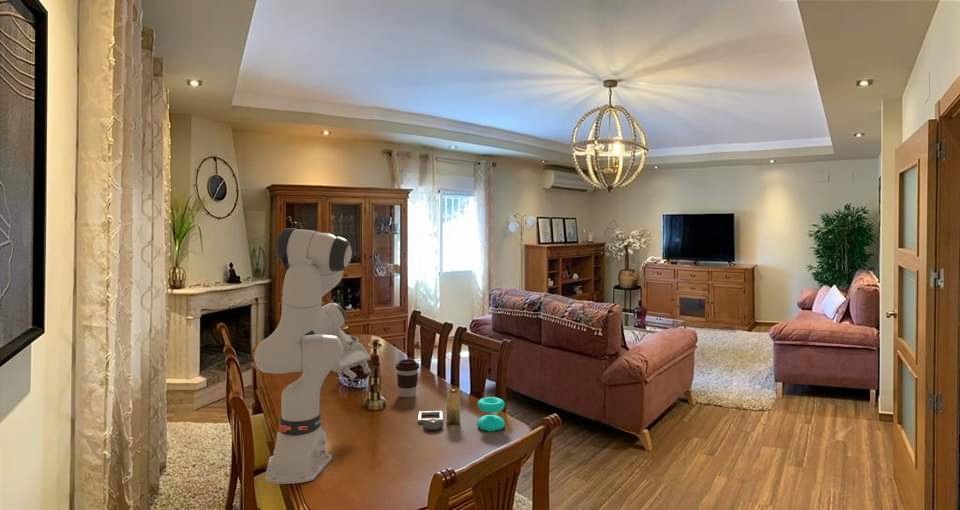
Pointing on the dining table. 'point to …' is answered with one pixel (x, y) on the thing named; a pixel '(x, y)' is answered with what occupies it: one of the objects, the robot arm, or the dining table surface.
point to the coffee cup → (407, 377)
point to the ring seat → (426, 413)
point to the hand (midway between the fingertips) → (361, 375)
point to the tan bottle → (453, 407)
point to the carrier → (433, 425)
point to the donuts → (491, 407)
